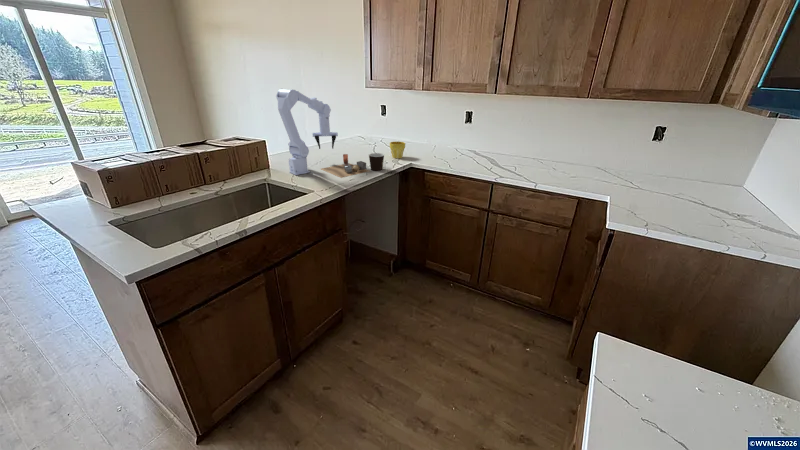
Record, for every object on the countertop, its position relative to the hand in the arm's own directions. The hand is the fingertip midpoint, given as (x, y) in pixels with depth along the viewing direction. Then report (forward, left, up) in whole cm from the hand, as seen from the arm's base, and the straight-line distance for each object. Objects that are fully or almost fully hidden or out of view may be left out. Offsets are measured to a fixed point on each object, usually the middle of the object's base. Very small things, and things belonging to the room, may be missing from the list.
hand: (326, 148), depth 201 cm
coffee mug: (+15, -31, -10) cm, 36 cm away
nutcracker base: (-1, -21, -10) cm, 23 cm away
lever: (+1, -20, -8) cm, 22 cm away
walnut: (+3, -27, -8) cm, 28 cm away
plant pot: (+46, -13, -10) cm, 49 cm away
